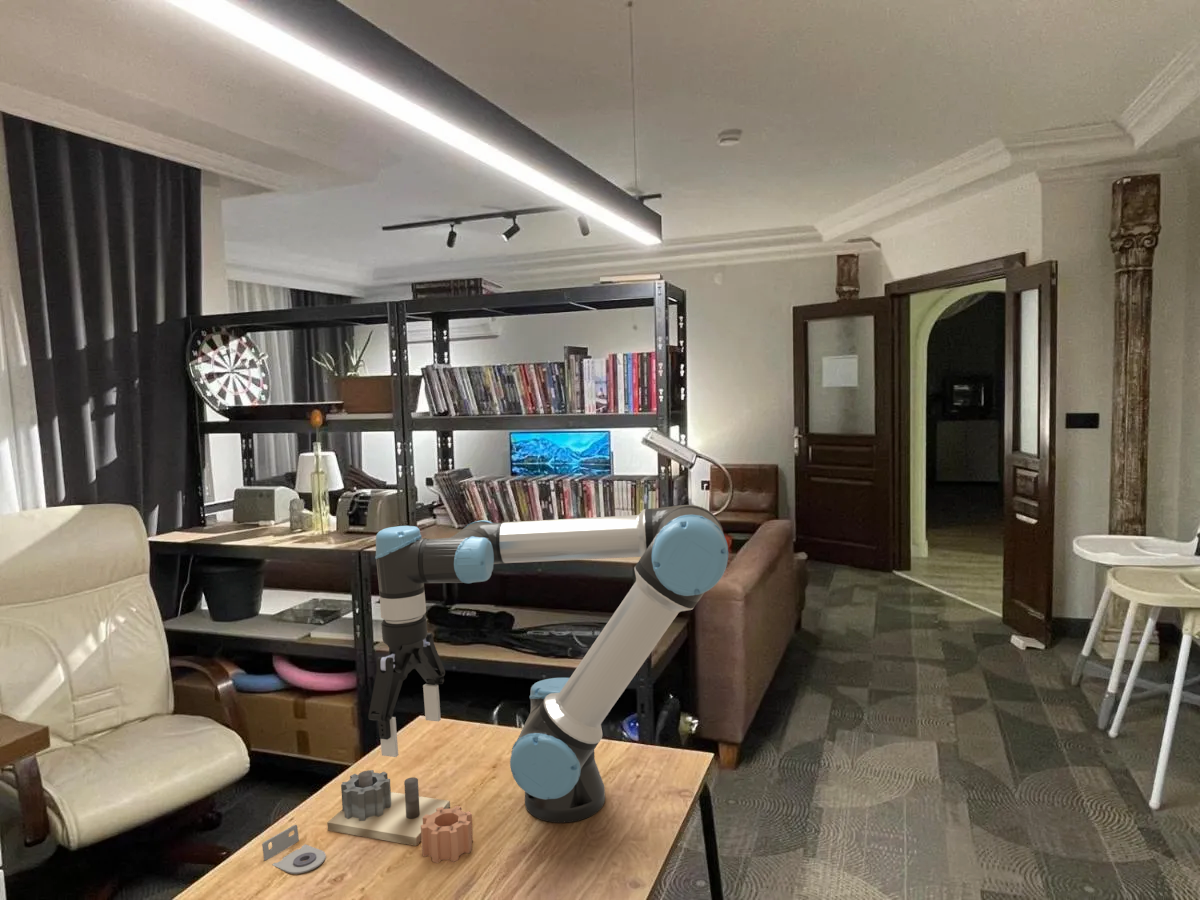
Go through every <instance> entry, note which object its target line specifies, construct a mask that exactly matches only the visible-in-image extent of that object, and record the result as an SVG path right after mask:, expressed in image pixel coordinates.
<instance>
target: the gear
mask: <svg viewBox="0 0 1200 900" xmlns="http://www.w3.org/2000/svg"><path fill="white" fill-rule="evenodd" d="M436 811H437V812H435V813H433V814H431V815H427V814H426V815H425V816H424V817H423V825H421V841H420V843H421V854H422V856H423V857H425V858H426V857H428V856H429V857H430V858H432V859H431V860H432V861H431V862H432V863H436V864H439V863H440V861H444V860H447V861H448V860H450V861H451V863H454V862H456V861H459V857H460V856H462V854H465V853H466V854H470V852H471V851H472V850H473V843H472V842H473V841H474V836H473V814H472V812H471V811H470V810H469V811H463V810H462V806H460V805H455V806H454V807H452V808H451V807H450V809H444V808H443V807H440V808H436Z"/></svg>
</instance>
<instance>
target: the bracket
mask: <svg viewBox="0 0 1200 900" xmlns="http://www.w3.org/2000/svg"><path fill="white" fill-rule="evenodd" d="M292 832H293V834H292V835H290V833H292ZM289 835H290V836H289ZM299 841H300V839H299V831H298V825H297V824H294V825H292V826H290V827H288V828H287V829H285V830H283V831H281V832H279V833H277V834H276V835H274V836H272V837H270V838H268V839H267V840H265V841H263V842H262V844H261V846H262V854H263V856H262V857H263V861H267V860H269V859H271V858H273V857H275V856H276V855H278V854H280V853H281V852H283V851H285V850H287V849H289V848H290V847H292V846H294V845H295V844H296V843H298V842H299ZM270 843H271V848H270V849H269V847H270V846H269V844H270ZM326 858H327V855H326V852H325V851H324V850H322V849H319V848H316V847H313V846H311V845H308V844H306V843H305V844H303V845H301V847H300V848H297V849H295V850H293V851H292V852H290V853H288V854H287V855H285V856H284V857H282V859H281V860H279V861H278V862H274V863H272V864H271V865H272V866H274V867H275V868H277V869H279V870H281V871H283V872H285V873H288V874H292V875H297V874H303V873H307V872H309V871H312V870H314V869H316V868H318V867H320V865H322V864H323V863H324V862H325V860H326Z"/></svg>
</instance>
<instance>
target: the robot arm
mask: <svg viewBox="0 0 1200 900" xmlns="http://www.w3.org/2000/svg"><path fill="white" fill-rule="evenodd" d="M728 545H729V544H728V542H727V539H726V537H725V534H724V529H723V527H722V525H721V522H720V520H719V519H718V518H717V517H716V515H715V514H714V513H712V511H710V510H709V509H706V508H705V507H702V506H699V505H695V504H682V505H673V506H666V507H665V506H663V507H655V508H644V509H642V510H641V512H639V514H635V515H634V514H632V515H616V516H615V515H614V516H600V517H599V516H596V517H594V516H593V517H577V518H562V519H545V520H543V519H541V520H527V521H526V520H525V521H508V522H507V521H506V522H505V521H504V522H492V521H490V520H486V519H483V520H477V521H474V522H471V523H468V524H467V525H466V526H465V527H463V529H461V530H460V531H459V532H457V533H455V534H454V535H452V536H450V537H442V538H439V537H438V538H426V537H425V538H424V537H422V534H421V530H420V528H419V527H418V526H416V525H415V526H414V525H398V526H391V527H385V528H383V529H381V530H380V531H378V532H377V533H376V535H375V556H374V558H375V560H376V569H377V571H376V572H377V580H378V581H377V582H378V590H379V591H378V594H379V607H380V608H379V609H380V617H381V619H382V621H381V624H380V625H381V637H382V643H384V644H385V645H386V646H387V647H388V654H387V655H386V656H378V657H377V658H376V672H375V679H374V685H373V690H372V695H371V701H370V706H369V711H368V715H367V716H368V717H367V718H368V720H370V721H377V724H378V725H377V726H378V736H379V740H380V750H381V752H380V753H381V756H383V757H392V758H397V757H398V756H399V745H398V732H397V720H396V719H397V718H396V716H393V715H394V711H395V708H396V704H397V701H398V698H399V694H400V692H401V689H402V686H403V682H404V681H405V680H406V679H407V678H408V674H410V673H411V672H412V671H413V670H416V671H417V673H418V674H419V676H421V678H422V680H424V682H426V683H425V684H423V685H422V688H423V689H422V690H423V702H424V704H423V705H424V716H425V717H424V718H425V719H424V720H425V721H431V722H440V721H441V720H442V718H441V707H440V706H441V703H440V689H439V688H440V686H439V685H443V684H444V682H445V678H444V676H445V675H446V670H445V667H444V664H443V662H442V660H441V658H440V655H439V652H438V650H437V647H436V646H435V641H434V636H433V633H431V632H428V624H427V623H428V621H427V616H426V615H425V614H426V612H427V606H426V594H425V593H426V592H425V584H460V583H461V584H463V583H464V584H472V583H481V582H487V581H488V580H490V578H491V576H492V572H493V570H494V565H499V564H500V565H501V564H512V563H516V564H517V563H533V562H535V563H536V562H537V563H538V562H555V561H556V562H558V561H559V562H560V561H580V560H581V561H582V560H600V559H601V560H603V559H605V560H606V559H620V558H621V559H624V558H626V559H627V558H639V560H638V561H637V563H636V564H635V566H634V567H633V569H634V575H635V582H634V583H633V585H632V586H631V588H630V589H629V591H628V592H627V593H626V595H625V596H624V598H623V600H622V601H621V603H620V604H619V606H618V607H617V608H616V610H615V611H614V612H613V614H612V616H611V617H610V618H609V620H608V622H607V623H606V624H605V626H604V627H603V629H602V630H601V631H600V633H599V634H598V636H597V638H596V639H595V641H594V642H593V643H592V645H591V646H590V647H589V648H588V651H587V652H586V654H585V655H584V657H583V658H582V659H581V661H580V662H579V664H578V665H577V666H576V668H575V670H574V671H573V672H572V674H571V676H570V677H552V678H551V677H550V678H546V679H542V680H539V681H537V682H534V684H532V685H531V687H530V695H529V700H530V713H529V715H528V716H527V719H526V721H525V722H524V724H523V726H522V729H521V731H520V734H519V735H518V737H517V739H516V741H515V743H514V744H513V746H512V748H511V754H510V759H509V766H510V767H509V768H510V772H511V774H512V777H513V780H514V781H515V783H516V784H517V785H518V787H520V789H521V790H523V792H524V806H525V809H526V810H527V811H528V812H529V814H530V815H532V816H533V817H535V818H536V819H538V820H539V819H540V820H542V821H545V822H551V823H563V824H564V823H573V822H578V821H582V820H584V819H587V818H590V817H591V816H593V815H596V814H597V813H598V812H600V810H601V809H602V808H603V806H604V804H605V802H606V795H605V794H606V788H605V783H604V782H603V779H602V774H600V770H599V767H598V765H597V763H596V759H595V750H596V747H597V746H598V744H599V743H600V742H601V740H602V738H603V730H602V724H603V722H604V720H605V719H606V717H607V716H608V715H609V713H610V712H611V710H612V708H613V707H614V706H615V704H616V703H617V701H618V700H619V698H621V696H622V695H623V693H624V692H625V690H626V689H627V687H628V686H629V685H630V683H631V681H632V680H633V679H634V677H635V676H636V674H637V673H638V671H639V670H640V668H642V666H643V665H644V663H645V662H646V660H647V659H648V658H649V656H650V655H651V653H652V651H653V650H654V649H655V647H656V646H657V644H658V643H659V642H660V640H661V638H662V637H663V636H664V634H665V633H666V632H667V631H668V628H669V627H670V626H671V625H672V623H673V621H674V620H675V619H676V617H677V616H678V614H679V613H681V612H686V611H691V610H693V609H695V606H696V605H697V604H698V603H699V601H700V600H701V599H702V597H703V596H704V594H705V593H706V592H708V591H710V590H711V589H713V588H714V587H715V586H716V585H717V584H718V583H719V581H721V579H722V577H723V576H724V573H725V571H726V570H727V566H728V560H729V546H728ZM394 671H395V672H394Z"/></svg>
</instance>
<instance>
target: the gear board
mask: <svg viewBox="0 0 1200 900" xmlns="http://www.w3.org/2000/svg"><path fill="white" fill-rule="evenodd" d="M403 782H404V793H400V792H393V791H391V789H392V788H391V787H392V786H391V778H388V773H387V772H386V771H382V772H374V769H370V770H364V771H360V772H359V773H358V774H357V773H353V774H350V775H349V780H348V781H343V782H341V784H340V787H341V789H340V790H341V791H340V792H341V806H342V807H341V808H342V809H341V810H340V811H338V813H336V814H335V815H334V816H333V817H332V818H331V819H329V820H328V821H327V824H326V826H327V831H330V832H334V833H340V834H341V833H342V834H345V835H346V834H347V835H352V836H356V837H358V836H359V837H364V838H369V839H373V840H375V839H376V840H382V841H387V842H392V843H398V844H404V845H409V846H414V847H416V846H418V845H419V844H420V843H421V825H423V817H424V816H425V815H426V814H427V815H431V814H433V813H435V812H437V811H436V808H440V807H443V808H444V809H451V803H450V802H451V801H450V800H448V799H447V800H445V799H439V798H433V797H426V796H422V795H421V796H419V794H420V793H419V791H420V789H419V778H418V777H415V776H414V777H413V776H412V777H408V778H406V779H405V780H404V781H403Z"/></svg>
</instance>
